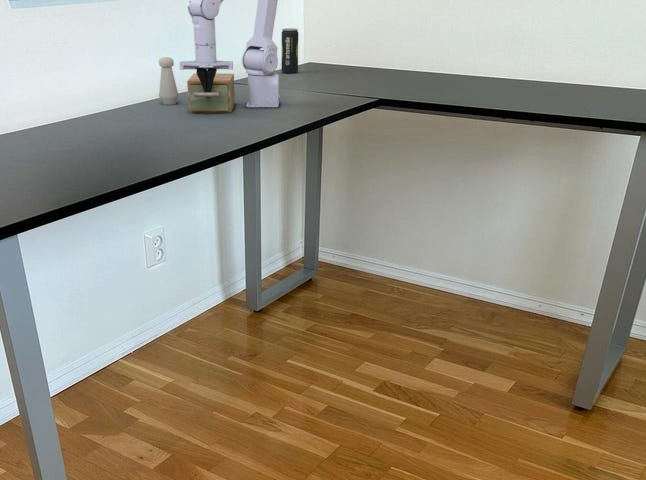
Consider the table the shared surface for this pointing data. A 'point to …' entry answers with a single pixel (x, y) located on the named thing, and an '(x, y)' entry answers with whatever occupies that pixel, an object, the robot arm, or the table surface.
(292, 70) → the beverage can
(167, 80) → the salt shaker
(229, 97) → the tan wooden box
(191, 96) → the drawer
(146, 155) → the table surface
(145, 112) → the table surface
